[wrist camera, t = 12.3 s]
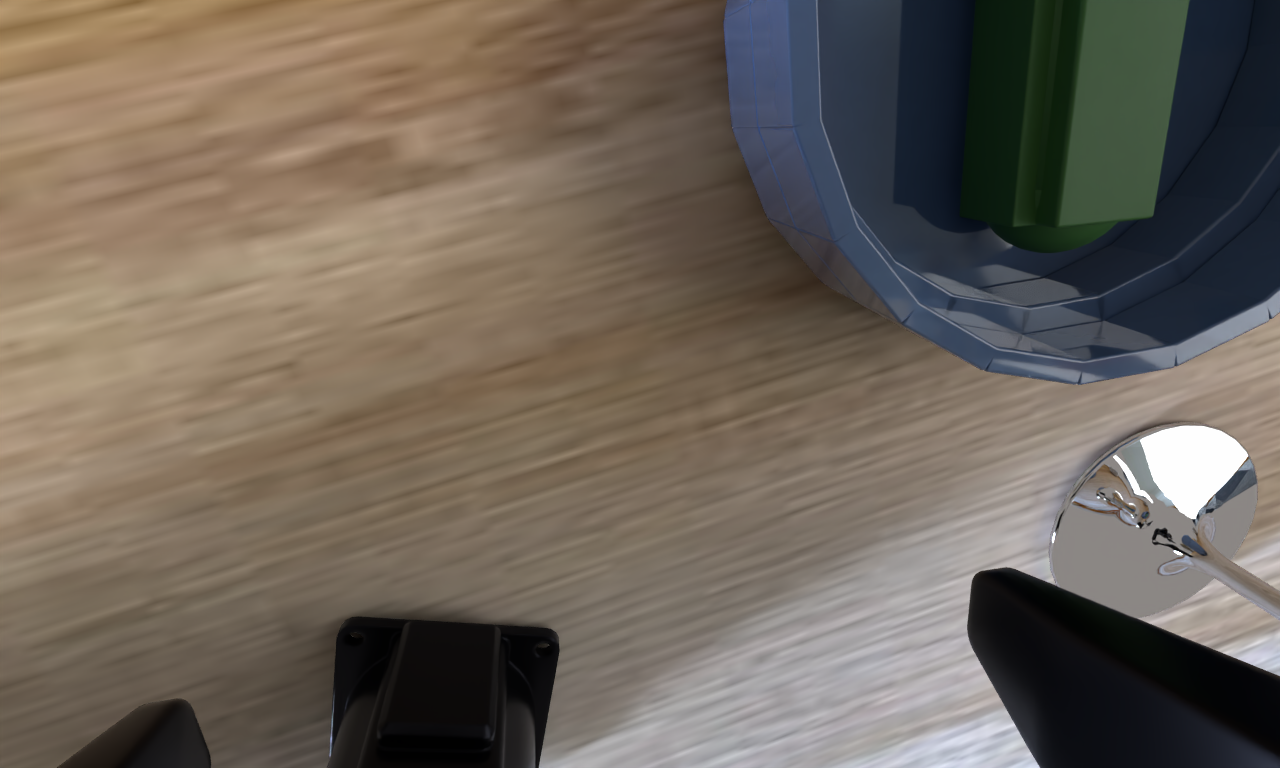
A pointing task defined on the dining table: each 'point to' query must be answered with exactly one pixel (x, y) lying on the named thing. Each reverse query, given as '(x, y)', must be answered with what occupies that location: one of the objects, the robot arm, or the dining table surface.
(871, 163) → the bowl
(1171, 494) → the wineglass
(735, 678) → the dining table surface
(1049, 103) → the green domed grooved pillar
